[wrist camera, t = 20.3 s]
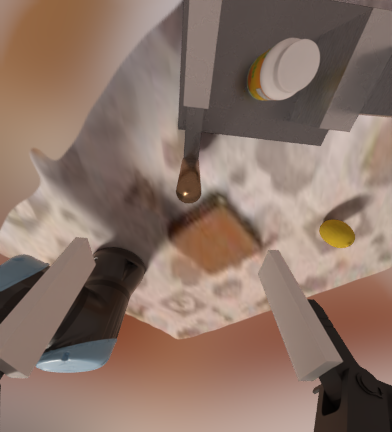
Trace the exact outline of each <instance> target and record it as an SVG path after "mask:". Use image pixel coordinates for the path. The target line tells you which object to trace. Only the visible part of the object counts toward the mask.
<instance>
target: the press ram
mask: <svg viewBox="0 0 392 432" xmlns="http://www.w3.org/2000/svg"><path fill="white" fill-rule="evenodd" d="M221 4H222V0H189V17H188V35H187V52H186V70H185V87H184V105H183V106H187V115H186V130H185V145H184V158H183V160H182V164H181V169H180V174H179V179H178V184H177V189H176V194H177V197H178V198H179V200H181V201H182V202H184V203H194V202H196V201H197V200H198V199H199V198H200V196H201V183H200V170H199V160H198V157H199V149H200V140H201V131H202V122H203V113H204V109H208V107H209V99H210V92H211V84H212V76H213V68H214V60H215V52H216V44H217V36H218V28H219V20H220V12H221Z"/></svg>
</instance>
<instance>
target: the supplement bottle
mask: <svg viewBox="0 0 392 432" xmlns="http://www.w3.org/2000/svg"><path fill="white" fill-rule="evenodd" d="M319 63H320V52H319V48H318V46H317V45H316V43H315V42H313V41H312V40H309V39H299V38H288V39H285V40H283V41H281V42H279V43H278V44H276V45H275V46H273V47H272V48H271V49H269V50H268V51H266V52H265V53H263V54H262V55H260V56H259V57H258V58H257V59H256V60H255V61H254V62H253V63H252V65H251V67H250V69H249V72H248V75H247V88H248V91H249V93H250V94H251V95H252V97H254V98H255V99H257V100H284V99H287V98H289V97H291V96H293V95H294V94H295V93H296V92H298V91H299V90H301V89H303V88H304V87H306V86H307V85H308V84H309V83H310V82H311V80H312V79H313V78H314V76H315V74H316V72H317V70H318V67H319Z"/></svg>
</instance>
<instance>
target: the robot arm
mask: <svg viewBox="0 0 392 432" xmlns="http://www.w3.org/2000/svg"><path fill="white" fill-rule="evenodd" d="M49 265H50V264H48V263H44V262H42V261H40V260H38V259H36V258H34V257H32V256H30V255H17V256H14V257H12V258H11V259H9V260H8V261H6V262H5V263H3V264H2V265H0V379H1V377H2V376H3V374H6V375H7V376H9V377H10V378H28V377H29V376H30V374H31V372H32V371H33V369H34V367H35V366H36V367H37V368H40V369H41V370H44V371H50V372H66V373H68V372H83V371H90V370H94V369H97V368H100V367H102V366H103V365H104V364H105V363H106V362H107V361H108V360H109V358H110V355H111V353H112V350H113V348H114V345H115V343H116V341H117V336H118V333H119V330H120V327H121V324H122V321H123V317H124V314H125V311H126V308H127V305H128V302H129V299H130V296H131V295H132V293H133V292H134V290H135V289H136V288H137V286H138V285H139V284H140V282H141V281H142V279H143V276H144V272H145V266H144V263H143V262H142V260H141V259H140V258H139V257H138V256H136V255H135V254H133V253H132V252H129V251H127V250H124V249H120V248H104V249H101V250H99V251H97V252H95V253H94V254H92V251H91V248H90V245H89V242H88V239H87V238H77V237H76V238H75V239H74V240H73V241H72V242H71V243H70V245H69V246H68V247H67V248H66V249H65V250H64V252H63V253H62V254H61V255H60V256H59V257H58V258H57V260H56V261H55V262H54V263H53V264H52V265H51V266H49ZM258 275H259V278H260V280H261V283H262V286H263V288H264V291H265V293H266V296H267V299H268V301H269V304H270V307H271V309H272V312H273V314H274V317H275V320H276V322H277V325H278V327H279V330H280V333H281V335H282V338H283V341H284V343H285V346H286V349H287V351H288V354H289V357H290V359H291V362H292V364H293V367H294V370H295V372H296V375H297V378H298V380H299V381H314V380H315V379H317V378H318V377H319V379H320V381H321V383H322V384H321V385H319V386H317V387H315V388H314V390H313V393H314V394H316V393H318V392H319V396H318V397H319V398H318V404H317V412H316V420H315V427H314V432H392V386H391V385H388V384H386V383H383V382H381V381H379V380H377V379H376V378H375V377H374V376H373V375H372V374H370V373H369V372H368V371H367V370H366V369H364V368H362V367H360V366H359V365H358V363H357V362H356V361H355V359H354V358H353V356H352V355H351V353H350V351H349V350H348V348H347V347H346V345H345V343H344V342H343V340H342V339H341V337H340V335H339V334H338V332H337V331H336V329H335V328H334V327H333V324H332V323H331V321H330V320H329V319H328V317H327V315H326V314H325V312H324V310H323V308H322V307H321V306H320V305H319V304H318V303H317V302H316V301H315V300H309V299H307V298H306V297H305V295H304V293H303V291H302V290H301V288H300V286H299V285H298V283H297V281H296V279H295V278H294V276H293V274H292V272H291V271H290V269H289V267H288V266H287V264H286V262H285V260H284V259H283V257H282V255H281V253H280V252H279V250H269V251H268V253H267V255H266V257H265V259H264V262H263V264H262V266H261V268H260V270H259V272H258ZM0 387H1V385H0ZM0 389H1V388H0Z"/></svg>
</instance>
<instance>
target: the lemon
mask: <svg viewBox="0 0 392 432" xmlns="http://www.w3.org/2000/svg"><path fill="white" fill-rule="evenodd" d="M319 232H320V235H321V237H322V238H323V239H324V241H325V242H327V243H328V244H330V245H331V246H334V247H337V248H345V247H348V246H350V245H352V244H353V242H354V240H355V234H354V232H353V230H352V229H351V228H350V226H348V225H347V224H346V223H344V222H342V221H340V220H334V219H332V220H327V221H325V222H324V223H323V224H322V225H321V226H320V230H319Z"/></svg>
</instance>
